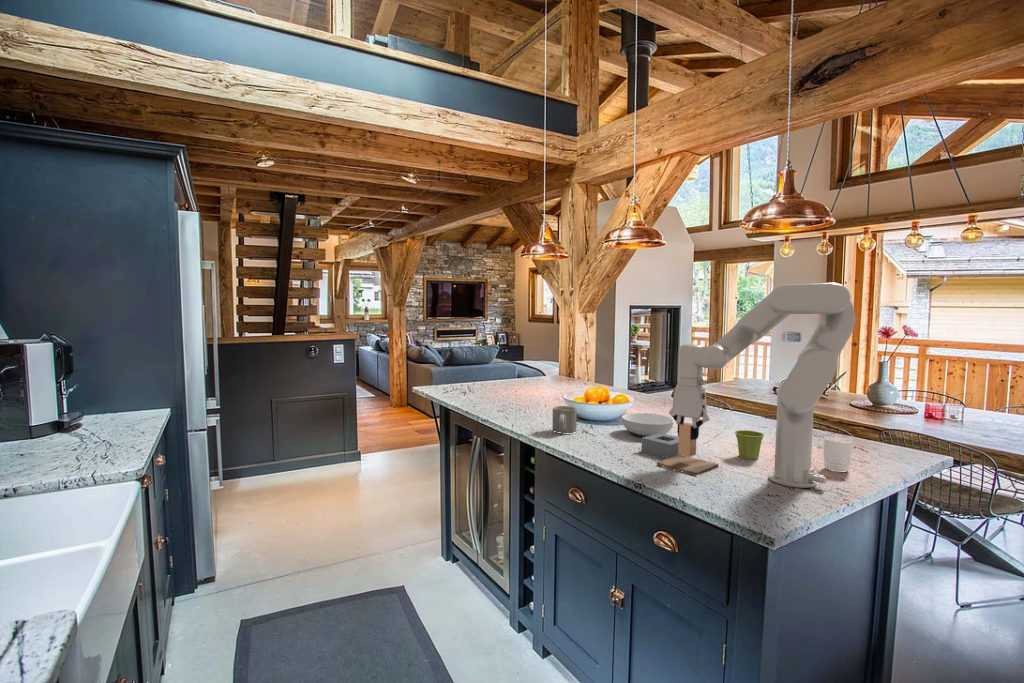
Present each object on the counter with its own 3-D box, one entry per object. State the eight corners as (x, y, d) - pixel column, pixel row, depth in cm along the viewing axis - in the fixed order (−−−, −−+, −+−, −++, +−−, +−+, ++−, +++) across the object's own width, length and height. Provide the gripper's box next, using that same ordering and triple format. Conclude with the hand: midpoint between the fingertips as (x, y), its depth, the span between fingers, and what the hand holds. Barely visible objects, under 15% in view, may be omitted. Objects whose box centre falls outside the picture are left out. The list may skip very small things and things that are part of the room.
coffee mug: (557, 427, 219) (557, 405, 218) (579, 430, 215) (579, 407, 214) (545, 434, 207) (546, 410, 207) (568, 437, 203) (568, 412, 202)
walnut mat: (718, 467, 165) (718, 464, 165) (696, 475, 156) (696, 472, 156) (679, 457, 176) (679, 454, 176) (657, 465, 167) (657, 462, 167)
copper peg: (695, 454, 166) (697, 424, 165) (689, 456, 163) (690, 426, 162) (684, 451, 169) (685, 422, 168) (678, 454, 166) (679, 424, 165)
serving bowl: (628, 440, 199) (629, 423, 198) (616, 428, 219) (616, 412, 219) (680, 440, 199) (681, 423, 199) (663, 428, 220) (663, 412, 220)
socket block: (689, 452, 182) (689, 439, 182) (670, 458, 174) (671, 444, 174) (660, 445, 191) (660, 432, 191) (641, 451, 183) (641, 437, 183)
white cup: (837, 474, 159) (839, 443, 158) (816, 466, 167) (817, 437, 166) (857, 472, 161) (858, 441, 160) (835, 465, 169) (836, 435, 168)
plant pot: (727, 455, 179) (728, 431, 178) (745, 452, 183) (746, 428, 183) (751, 462, 170) (752, 437, 170) (769, 459, 175) (770, 434, 174)
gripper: (720, 384, 161) (717, 441, 162) (673, 378, 173) (671, 431, 174) (708, 386, 156) (705, 445, 157) (661, 380, 168) (659, 434, 169)
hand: (687, 437), depth 166 cm, fingers closed on copper peg, 4 cm apart
